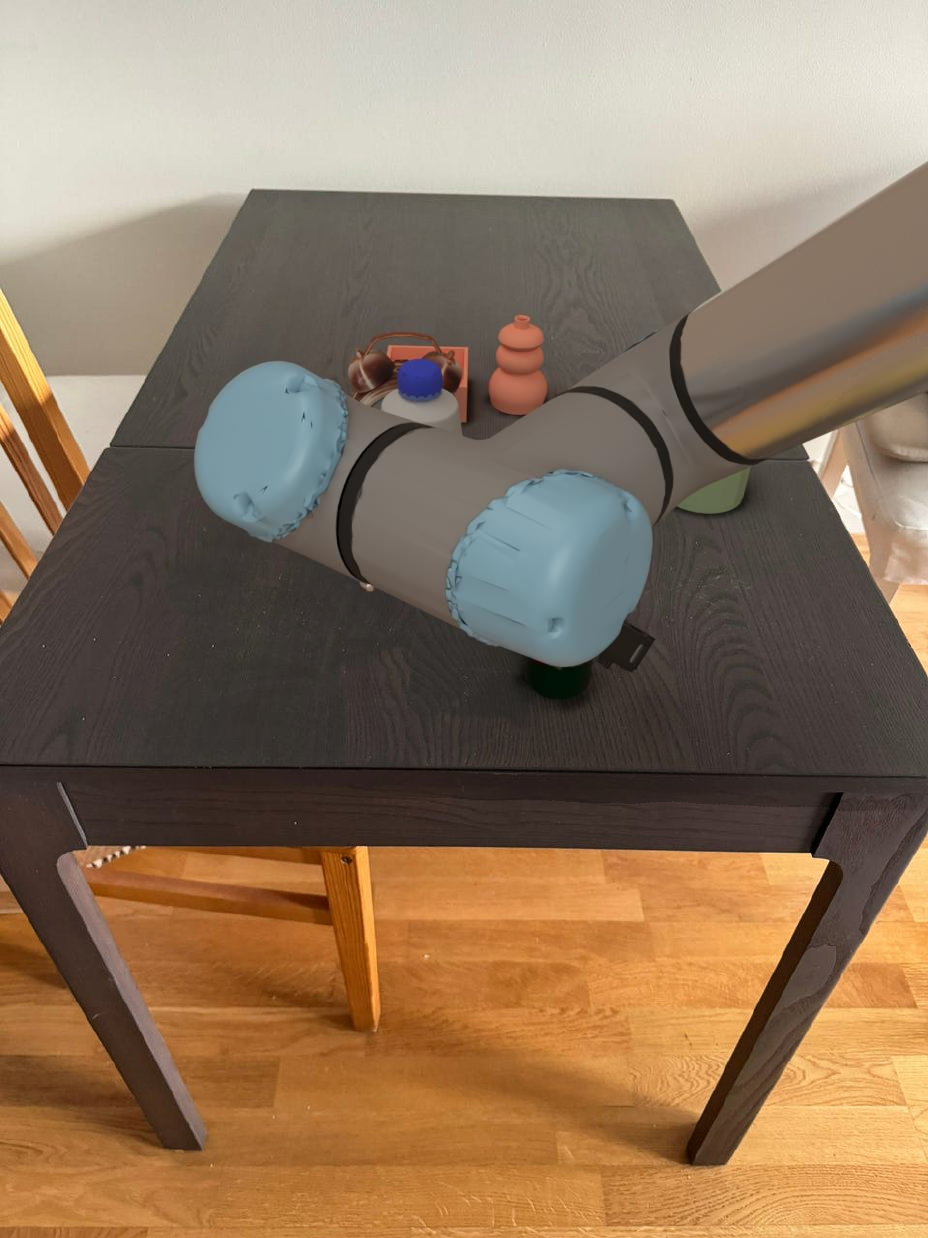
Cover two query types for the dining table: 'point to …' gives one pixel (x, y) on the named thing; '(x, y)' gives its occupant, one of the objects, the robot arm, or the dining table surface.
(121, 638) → the dining table surface
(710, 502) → the cup
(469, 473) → the robot arm
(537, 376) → the pottery
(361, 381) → the alarm clock
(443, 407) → the bottle
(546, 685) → the soda can
